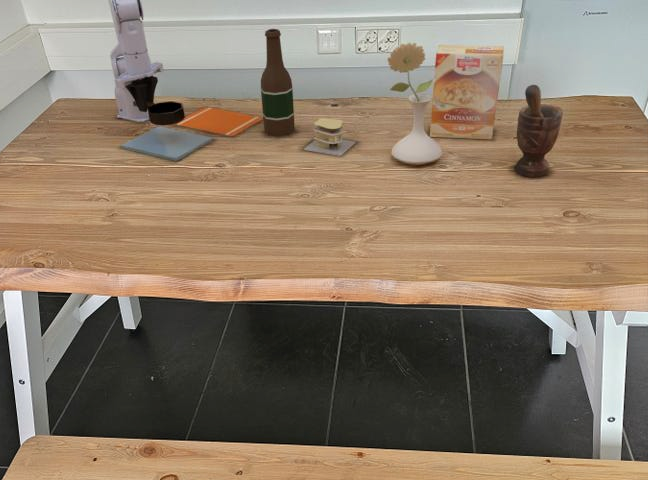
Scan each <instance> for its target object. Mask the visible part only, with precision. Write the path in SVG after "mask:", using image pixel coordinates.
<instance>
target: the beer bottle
mask: <svg viewBox="0 0 648 480" xmlns="http://www.w3.org/2000/svg"><path fill="white" fill-rule="evenodd" d="M281 35H282V33H281V31H280V30H279V29H278V28H269V29H267V30H265V31H264V36H265V39H266V40H265V41H266V44H265V45H266V62H265V64H266V65H265V68H264V70H263V72H262V74H261V78H260V95H261V107H262V118H263V119H262V120H263V129H264V132H265V134H266V135H267V136H269V137H275V138H279V137H280V138H281V137H287V136H290V135H291V134H293V133H294V132H295V110H294V109H295V108H294V107H295V106H294V89H293V88H294V87H293V81H292V77H291V75H290V72H289V71H288V69H286V67H285V63H284V60H283V51H282V45H281Z"/></svg>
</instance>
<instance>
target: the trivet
mask: <svg viewBox="0 0 648 480" xmlns="http://www.w3.org/2000/svg"><path fill="white" fill-rule="evenodd" d="M212 141H214V138H213V137H211V136H207V135H201V134H198V133H197V134H196V133H193V132H188V131H183V130H179V129H174V128H169V127H164V126H161V125H157V127H154V128H152V129H150V130H148V131H146V132H144V133H142V134H140V135H138V136H136V137H135V138H132V139H130V140H128V141H126V142H124V143H122V144H120V146H121V147H120V148H121V149H124V150H127V151H133V152H137V153H139V154H144V155H147V156H148V155H149V156H153V157H156V158H162V159H164V160H165V159H166V160H170V161H173V162H178V161H180V160H181V159H183V158H186V156H188V155H189V154H190V153H192V152H194V151H196V150H198V149H199V148H202V147H203V146H205V145H206V144H208V143H210V142H212Z"/></svg>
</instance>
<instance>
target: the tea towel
mask: <svg viewBox="0 0 648 480" xmlns="http://www.w3.org/2000/svg"><path fill="white" fill-rule="evenodd" d="M262 120H263V116H255V115H250V114H245V113H241V112H234V111H229V110H224V109H219V108H214V107H208V106H204V107H202V108H200V109H199V110H198V109H197V110H196V111H194V112H192V113H190V114H189V115H186V116H185V118H184V120H183V121H181V122H179V123H176V124H175V125H177V126H181V127H186V128H191V129H196V130H201V131H205V132H209V133H210V132H211V133H215V134H220V135H224V136H229V137H234V136H236V135H237V134H239V133H240V132H242V131H245V130H246V129H248V128H249V127H251V126H253V125H255V124H257V123H258V122H260V121H262Z"/></svg>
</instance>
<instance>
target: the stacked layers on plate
mask: <svg viewBox="0 0 648 480" xmlns="http://www.w3.org/2000/svg"><path fill="white" fill-rule="evenodd" d="M343 123H344V121H343V120H341V119H334V118H322V117H320V118H318V119H317V120H316V121H315V122H313V125H316V126H315V127H313V128H312V129H313V132H314V133H315V134H314V135H315V136H314V137H313V139H314V140H313V141H312V142H310V143H309V144H308V145H307V146H305V147H304V148H303V149H302V150H303V151H307V152H314V153H321V154H326V155H332V156H339V157H341V156H342V155H344V154H345V153H346V152H347V151H348V150H349V149H351V147H353V145H355V144H356V143H357V141H354V140H353V141H352V140H347V139H343V138H344V136H343V134H342V131H343V129H344V127H343Z"/></svg>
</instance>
